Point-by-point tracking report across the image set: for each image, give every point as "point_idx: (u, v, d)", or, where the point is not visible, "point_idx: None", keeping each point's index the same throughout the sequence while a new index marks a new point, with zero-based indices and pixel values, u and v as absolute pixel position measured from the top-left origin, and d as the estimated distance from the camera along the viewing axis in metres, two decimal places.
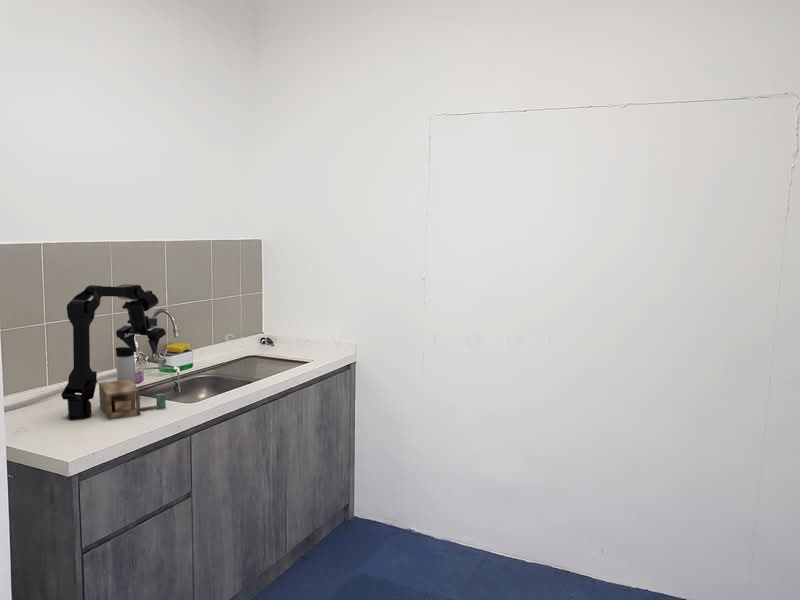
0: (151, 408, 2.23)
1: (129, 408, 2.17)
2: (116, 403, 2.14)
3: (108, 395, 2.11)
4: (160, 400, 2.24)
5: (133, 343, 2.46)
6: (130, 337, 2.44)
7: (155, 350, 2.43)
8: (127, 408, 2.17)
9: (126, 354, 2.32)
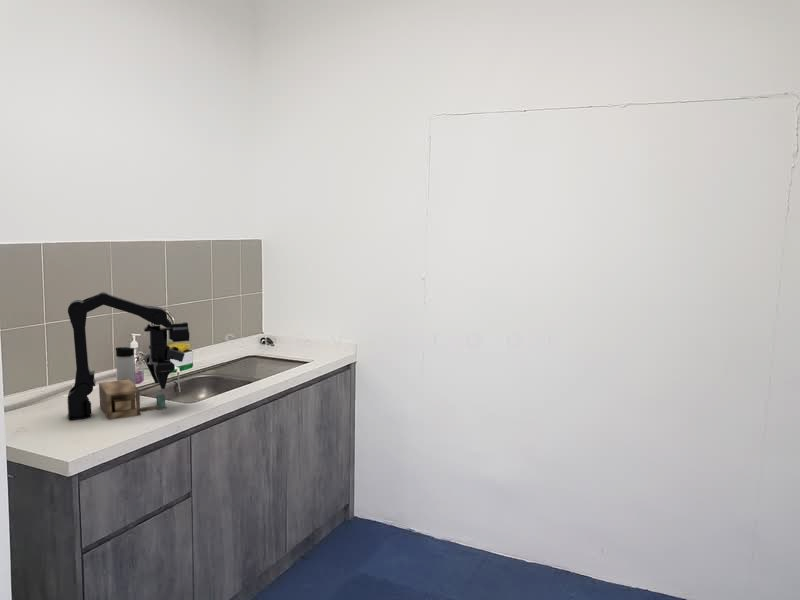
0: (151, 408, 2.23)
1: (129, 408, 2.17)
2: (116, 403, 2.14)
3: (108, 395, 2.11)
4: (160, 400, 2.24)
5: None
6: None
7: (162, 385, 2.20)
8: (127, 408, 2.17)
9: (126, 354, 2.32)
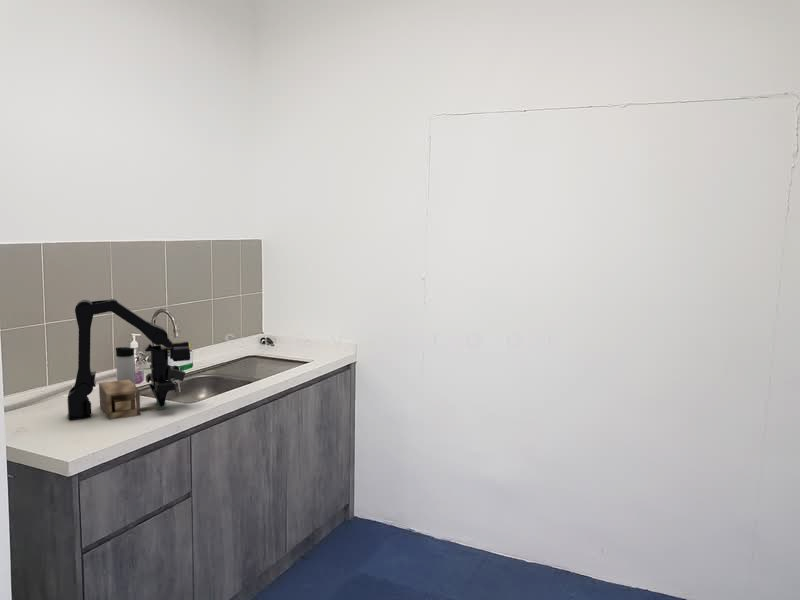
0: (151, 408, 2.23)
1: (129, 408, 2.17)
2: (116, 403, 2.14)
3: (108, 395, 2.11)
4: None
5: None
6: None
7: (161, 402, 2.23)
8: (127, 408, 2.17)
9: (126, 354, 2.32)
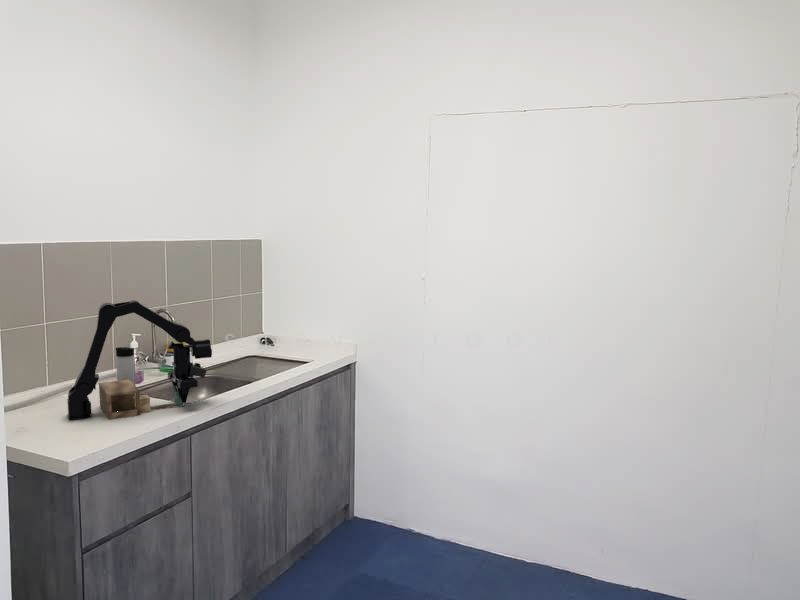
0: (169, 405, 2.26)
1: (148, 405, 2.20)
2: None
3: (108, 395, 2.11)
4: (178, 398, 2.27)
5: None
6: None
7: (184, 399, 2.27)
8: (146, 405, 2.20)
9: (126, 354, 2.32)
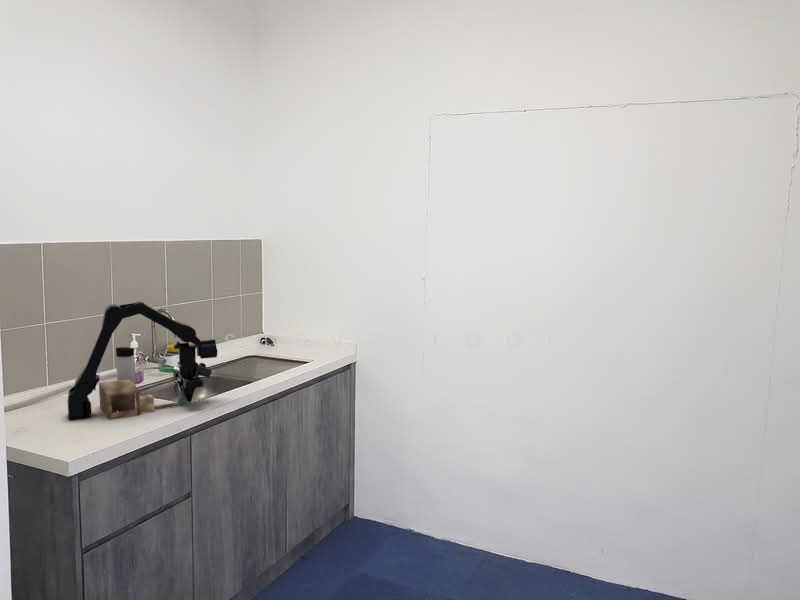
0: (173, 405, 2.27)
1: (152, 405, 2.21)
2: (140, 400, 2.18)
3: (108, 395, 2.11)
4: (181, 397, 2.28)
5: None
6: None
7: (189, 398, 2.28)
8: (150, 405, 2.21)
9: (126, 354, 2.32)
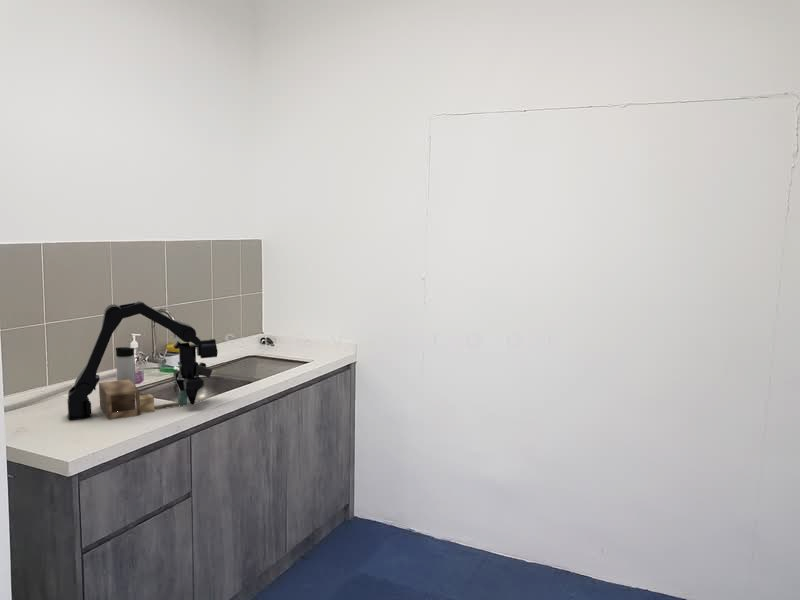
0: (173, 405, 2.27)
1: (152, 405, 2.21)
2: (140, 400, 2.18)
3: (108, 395, 2.11)
4: (181, 397, 2.28)
5: None
6: (184, 381, 2.34)
7: (192, 400, 2.26)
8: (150, 405, 2.21)
9: (126, 354, 2.32)
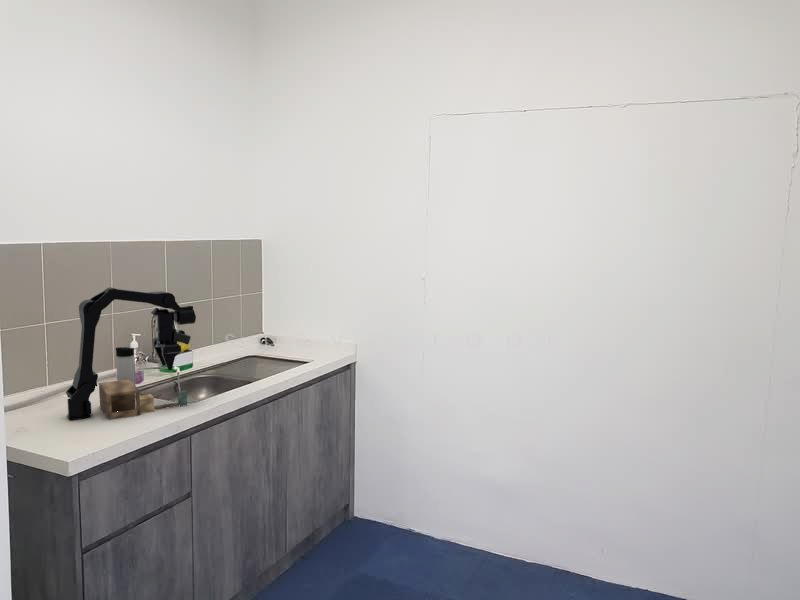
0: (173, 405, 2.27)
1: (152, 405, 2.21)
2: (140, 400, 2.18)
3: (108, 395, 2.11)
4: (181, 397, 2.28)
5: None
6: None
7: (169, 366, 2.27)
8: (150, 405, 2.21)
9: (126, 354, 2.32)
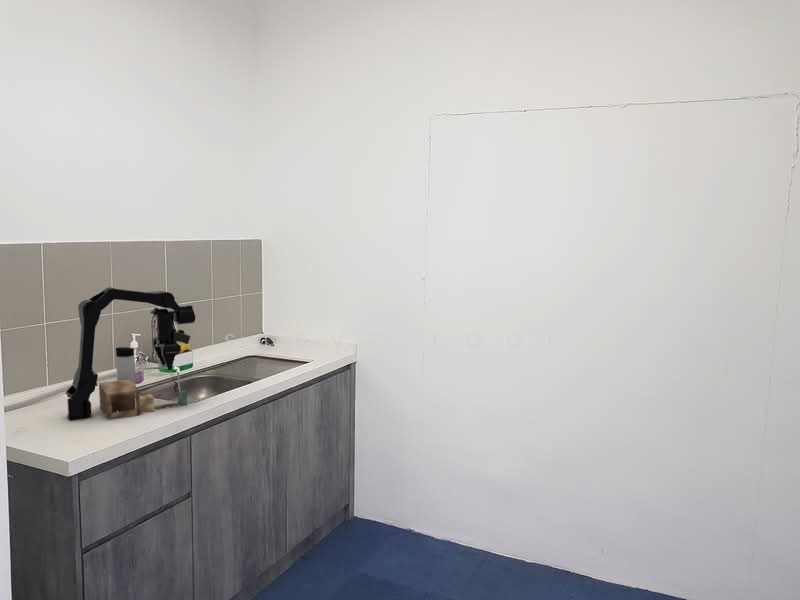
0: (173, 405, 2.27)
1: (152, 405, 2.21)
2: (140, 400, 2.18)
3: (108, 395, 2.11)
4: (181, 397, 2.28)
5: None
6: None
7: (169, 366, 2.27)
8: (150, 405, 2.21)
9: (126, 354, 2.32)
